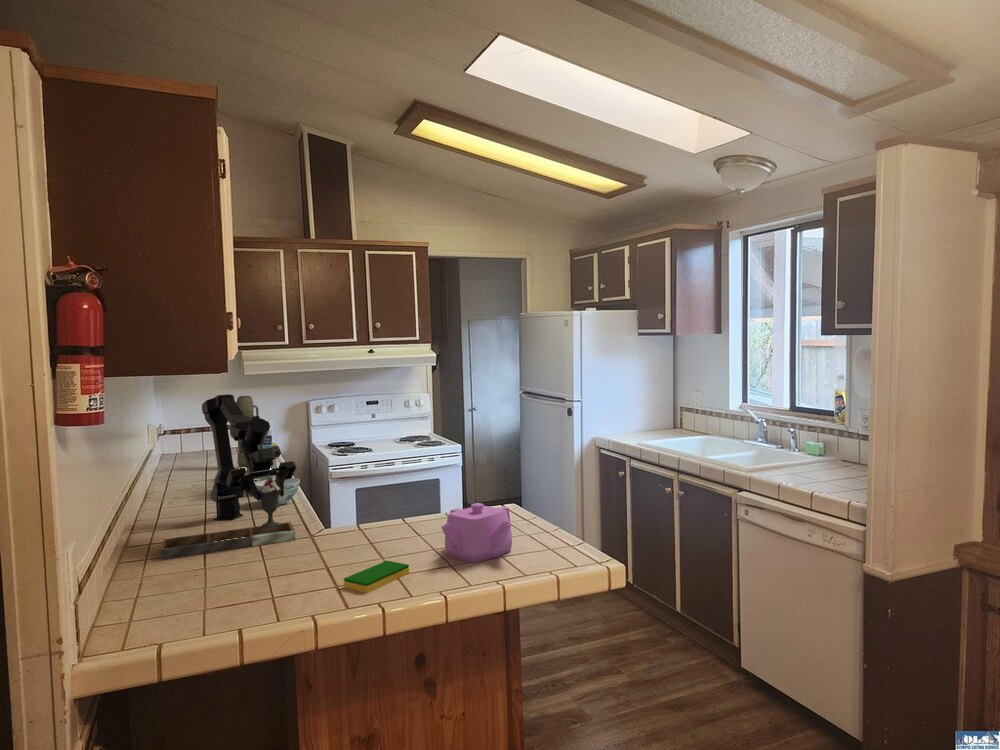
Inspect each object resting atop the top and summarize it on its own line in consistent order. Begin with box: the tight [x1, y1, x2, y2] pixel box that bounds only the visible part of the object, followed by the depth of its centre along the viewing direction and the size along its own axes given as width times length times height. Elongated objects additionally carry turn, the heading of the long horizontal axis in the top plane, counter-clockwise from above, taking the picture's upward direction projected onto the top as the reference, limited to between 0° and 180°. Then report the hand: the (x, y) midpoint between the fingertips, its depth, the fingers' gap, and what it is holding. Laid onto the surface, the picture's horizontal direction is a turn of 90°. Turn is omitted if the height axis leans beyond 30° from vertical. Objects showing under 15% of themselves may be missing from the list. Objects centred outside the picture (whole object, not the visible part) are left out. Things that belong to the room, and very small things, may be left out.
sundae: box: [258, 474, 282, 528], centre depth 180 cm, size 7×7×15 cm
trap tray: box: [160, 521, 296, 560], centre depth 176 cm, size 33×12×2 cm, turn 114°
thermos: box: [235, 395, 260, 467], centre depth 304 cm, size 9×12×35 cm
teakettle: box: [440, 502, 513, 564], centre depth 159 cm, size 17×17×12 cm
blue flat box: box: [259, 429, 274, 482], centre depth 248 cm, size 20×5×23 cm, turn 20°
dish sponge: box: [343, 560, 410, 594], centre depth 142 cm, size 7×14×2 cm, turn 147°
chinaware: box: [255, 477, 301, 506], centre depth 225 cm, size 15×15×8 cm
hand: (271, 497), depth 179 cm, fingers closed on sundae, 6 cm apart
